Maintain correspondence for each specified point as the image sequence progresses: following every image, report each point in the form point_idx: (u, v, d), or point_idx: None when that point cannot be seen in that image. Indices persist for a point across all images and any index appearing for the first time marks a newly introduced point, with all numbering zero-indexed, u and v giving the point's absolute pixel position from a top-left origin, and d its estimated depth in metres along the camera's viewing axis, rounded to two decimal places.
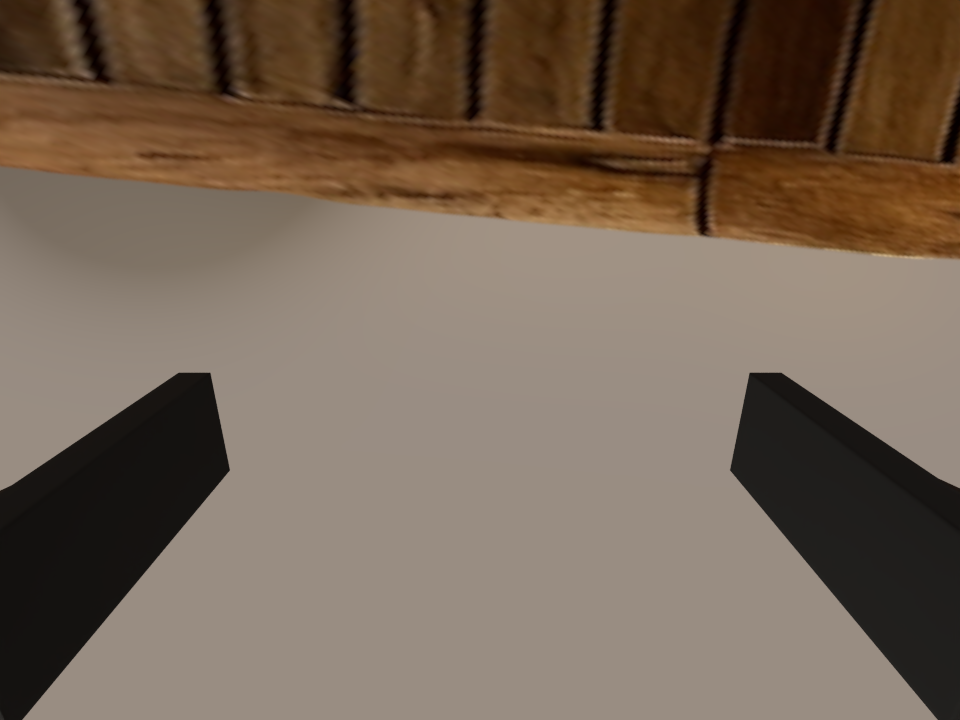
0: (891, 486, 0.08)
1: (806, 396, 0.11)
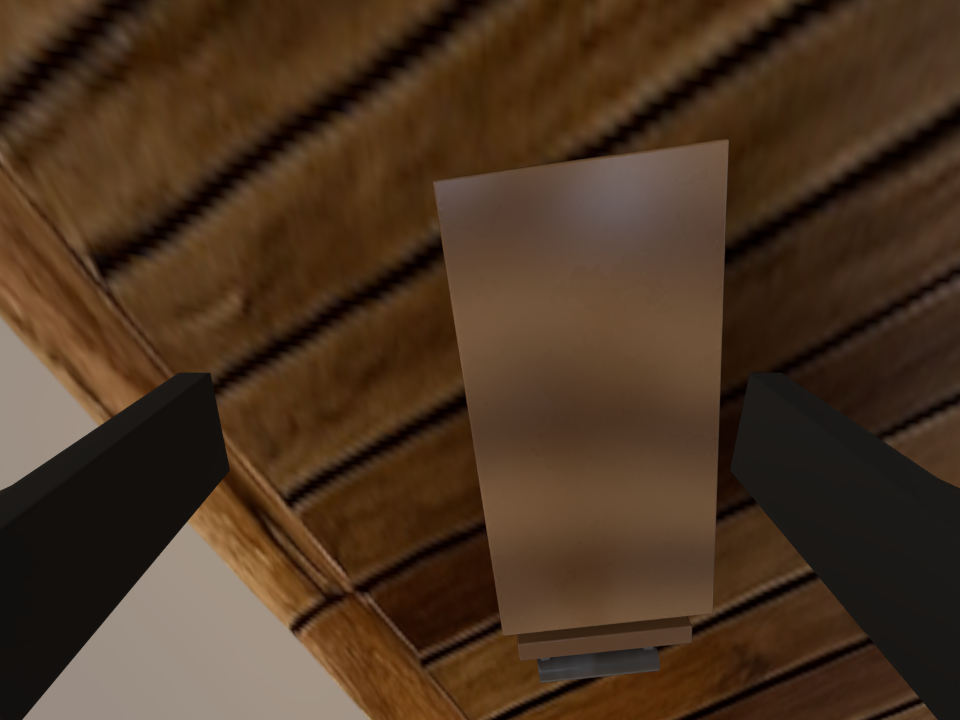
0: (891, 486, 0.08)
1: (806, 396, 0.11)
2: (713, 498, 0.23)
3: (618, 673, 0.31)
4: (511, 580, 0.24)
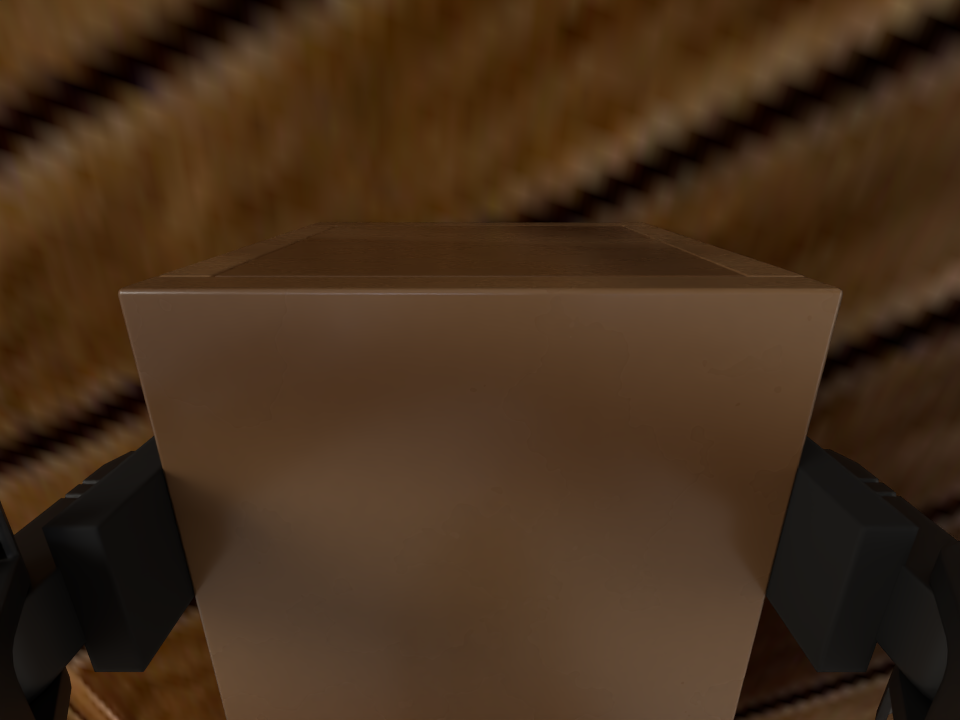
0: None
1: None
2: None
3: None
4: None
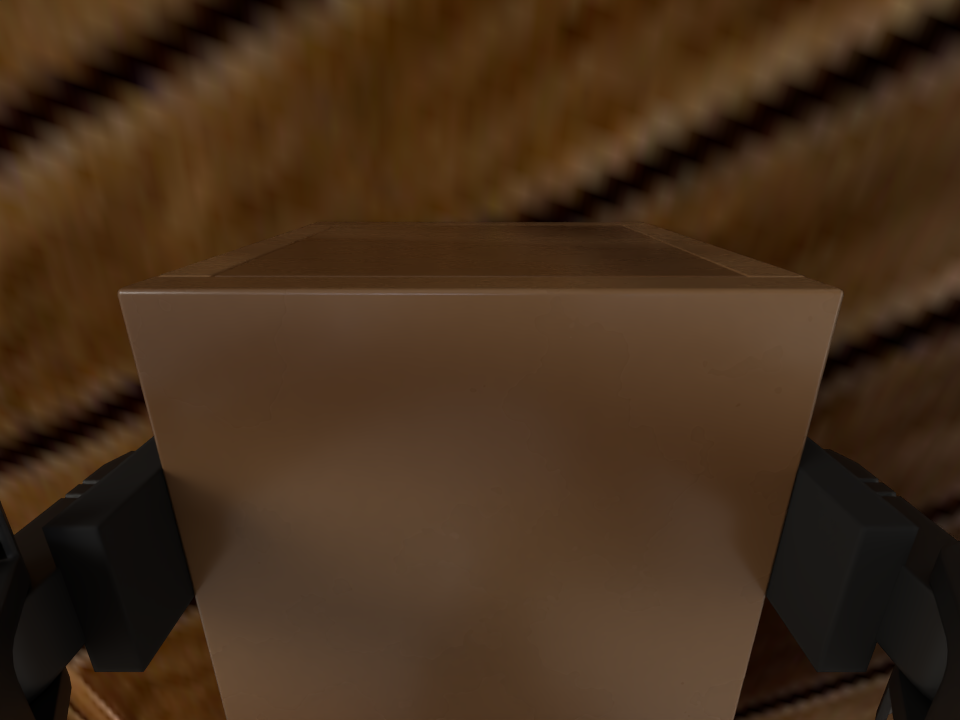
0: None
1: None
2: None
3: None
4: None
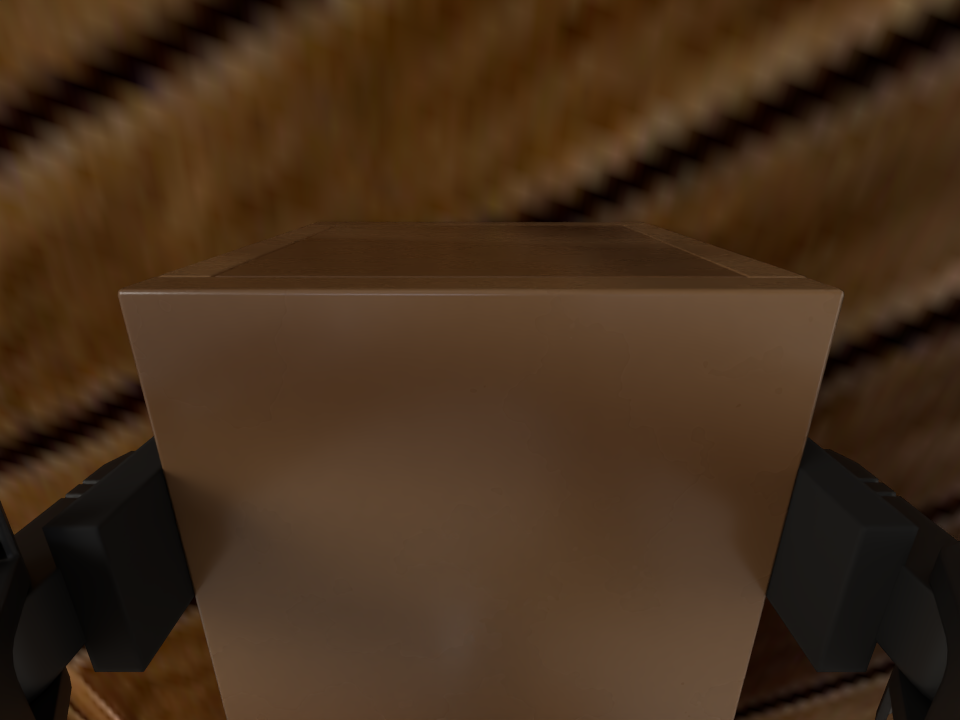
0: None
1: None
2: None
3: None
4: None
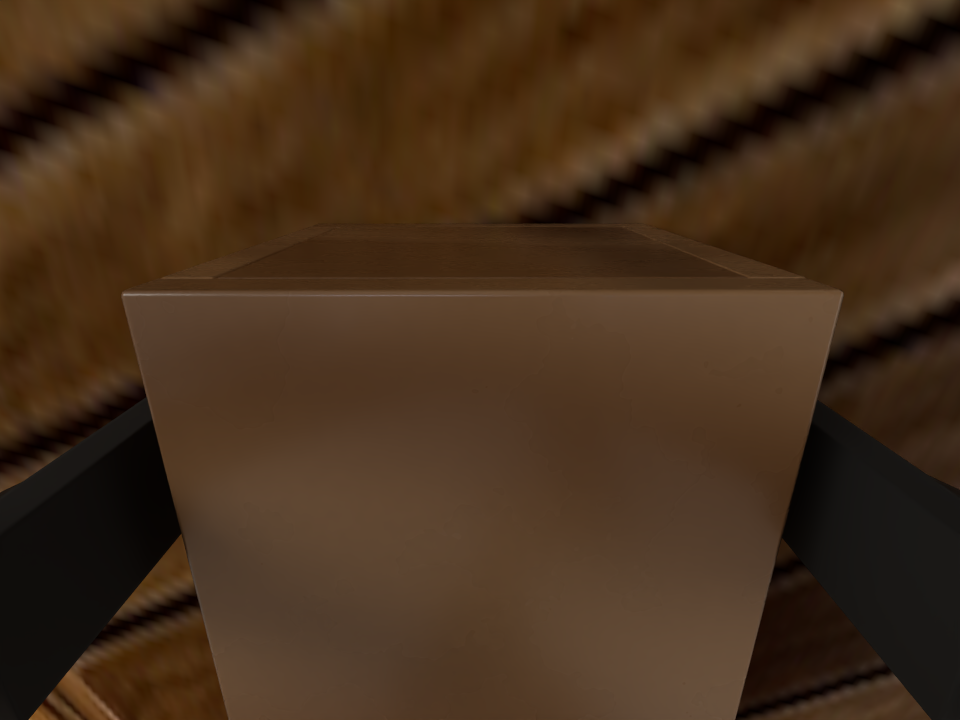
0: (882, 483, 0.08)
1: None
2: None
3: None
4: None
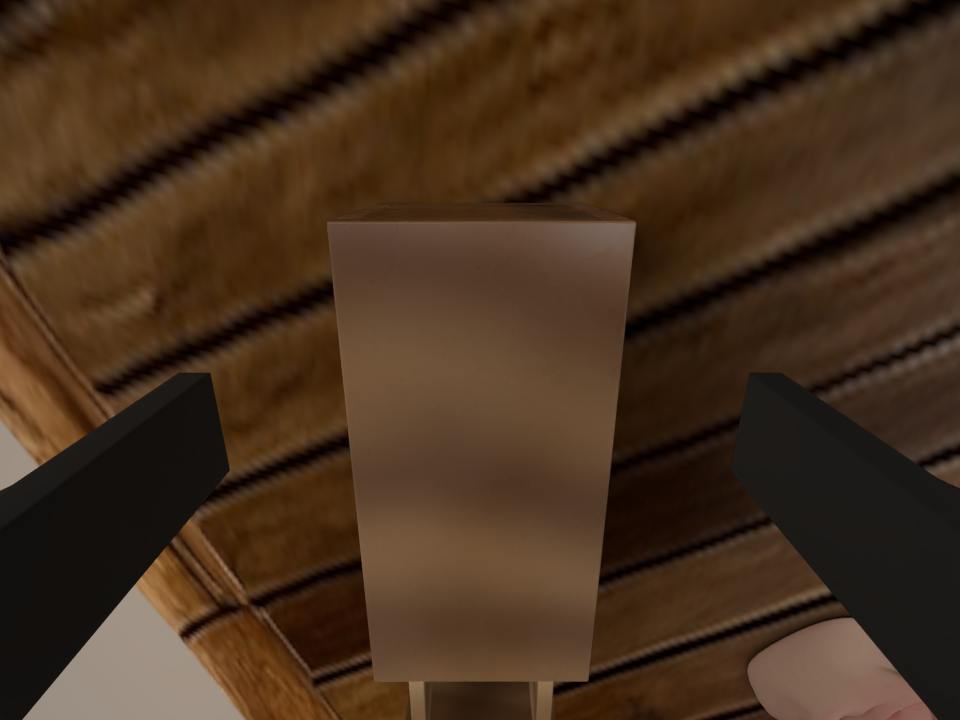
0: (891, 486, 0.08)
1: (806, 396, 0.11)
2: (596, 571, 0.22)
3: None
4: (385, 628, 0.23)
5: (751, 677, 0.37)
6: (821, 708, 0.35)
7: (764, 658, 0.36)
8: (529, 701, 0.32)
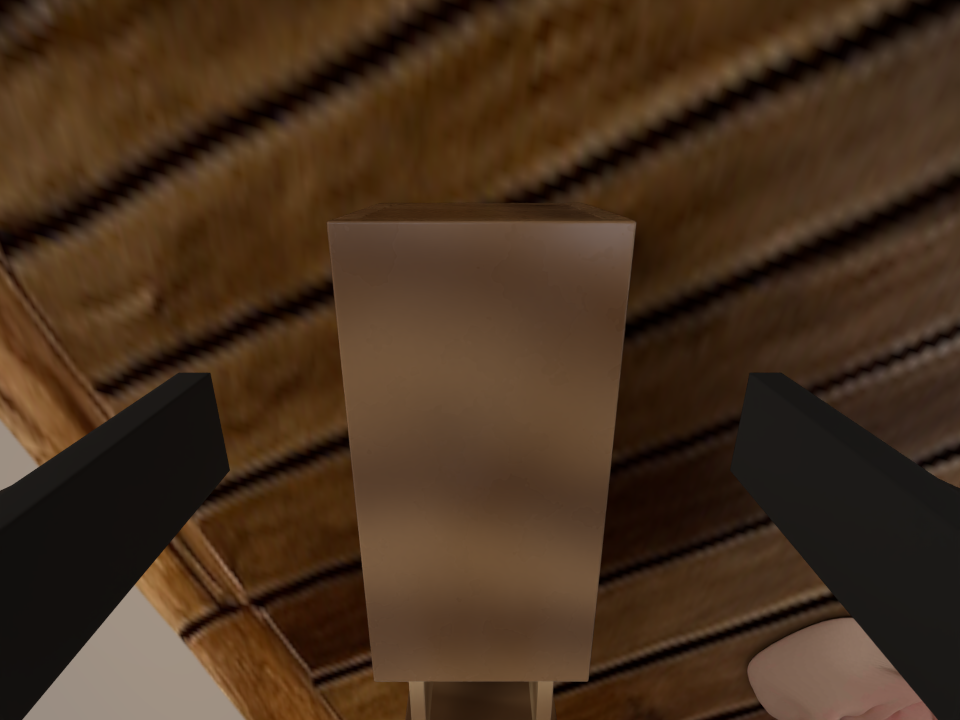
0: (891, 486, 0.08)
1: (806, 396, 0.11)
2: (596, 571, 0.22)
3: None
4: (385, 628, 0.23)
5: (751, 677, 0.37)
6: (821, 708, 0.35)
7: (764, 658, 0.36)
8: (529, 701, 0.32)
